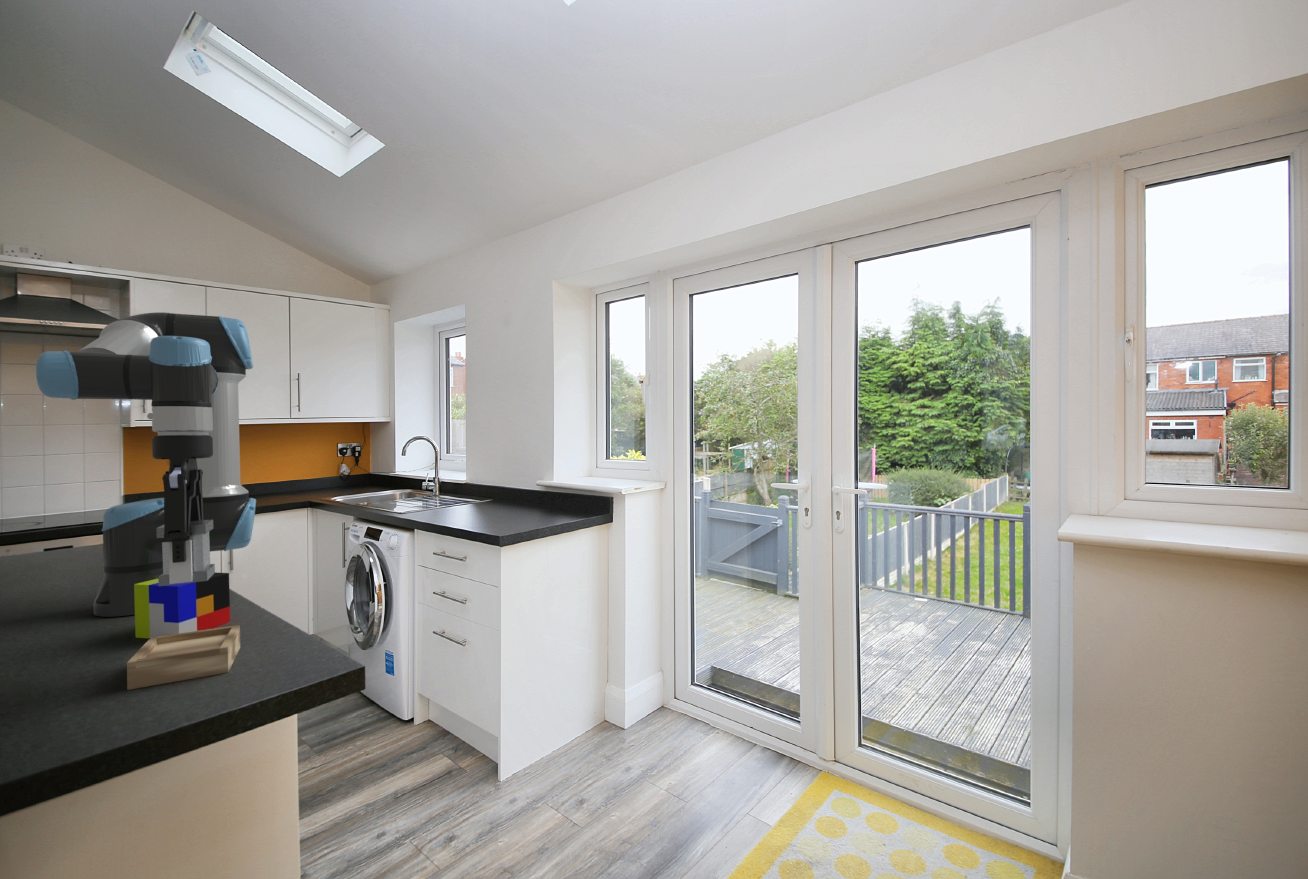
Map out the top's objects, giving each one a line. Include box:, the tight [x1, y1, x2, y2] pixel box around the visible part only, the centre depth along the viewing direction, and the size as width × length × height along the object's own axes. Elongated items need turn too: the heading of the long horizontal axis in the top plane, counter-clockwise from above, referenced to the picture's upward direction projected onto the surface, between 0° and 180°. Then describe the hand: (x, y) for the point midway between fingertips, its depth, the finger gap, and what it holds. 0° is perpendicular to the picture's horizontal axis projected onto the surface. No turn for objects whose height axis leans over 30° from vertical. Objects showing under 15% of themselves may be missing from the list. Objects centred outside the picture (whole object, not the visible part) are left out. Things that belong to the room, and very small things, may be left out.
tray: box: [126, 624, 241, 691], centre depth 92 cm, size 12×12×4 cm
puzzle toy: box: [134, 571, 231, 639], centre depth 110 cm, size 10×10×10 cm
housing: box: [156, 520, 216, 586], centre depth 92 cm, size 6×6×10 cm
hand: (186, 577), depth 92 cm, fingers closed on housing, 6 cm apart
